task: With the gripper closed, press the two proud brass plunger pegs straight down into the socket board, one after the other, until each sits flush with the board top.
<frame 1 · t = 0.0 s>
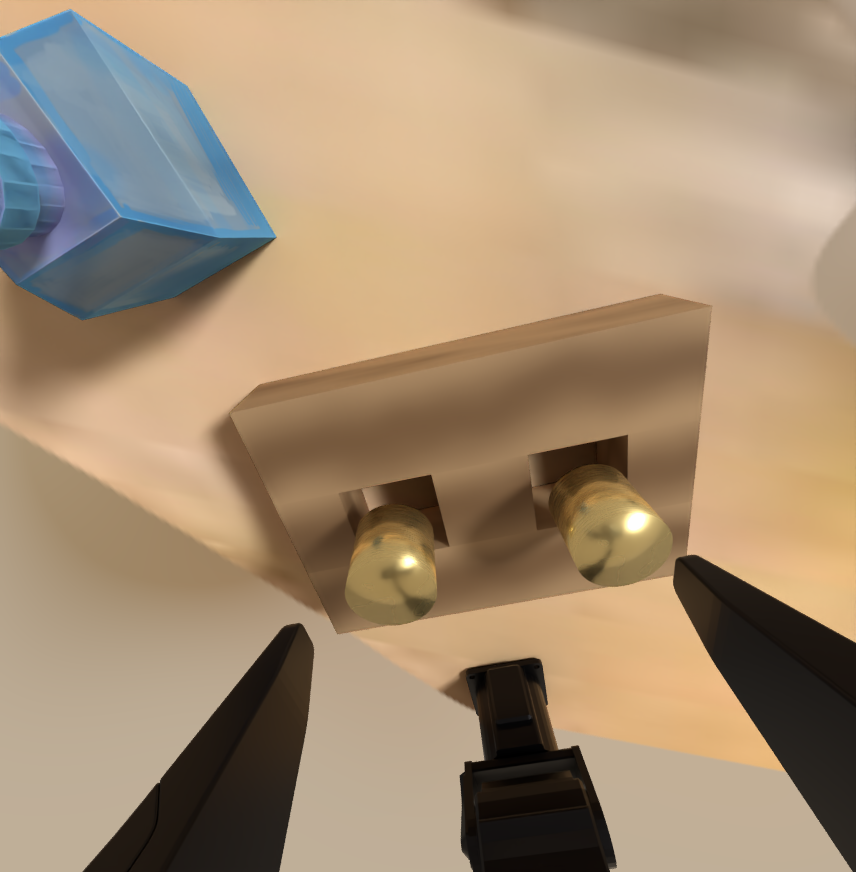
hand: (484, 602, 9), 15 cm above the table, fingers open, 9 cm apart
socket board: (476, 465, 25), on the table
perfume bottle: (182, 202, 18), on the table
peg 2: (393, 562, 19), point 7 cm above the table, slide at 5.0 cm
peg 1: (604, 522, 18), point 7 cm above the table, slide at 5.0 cm
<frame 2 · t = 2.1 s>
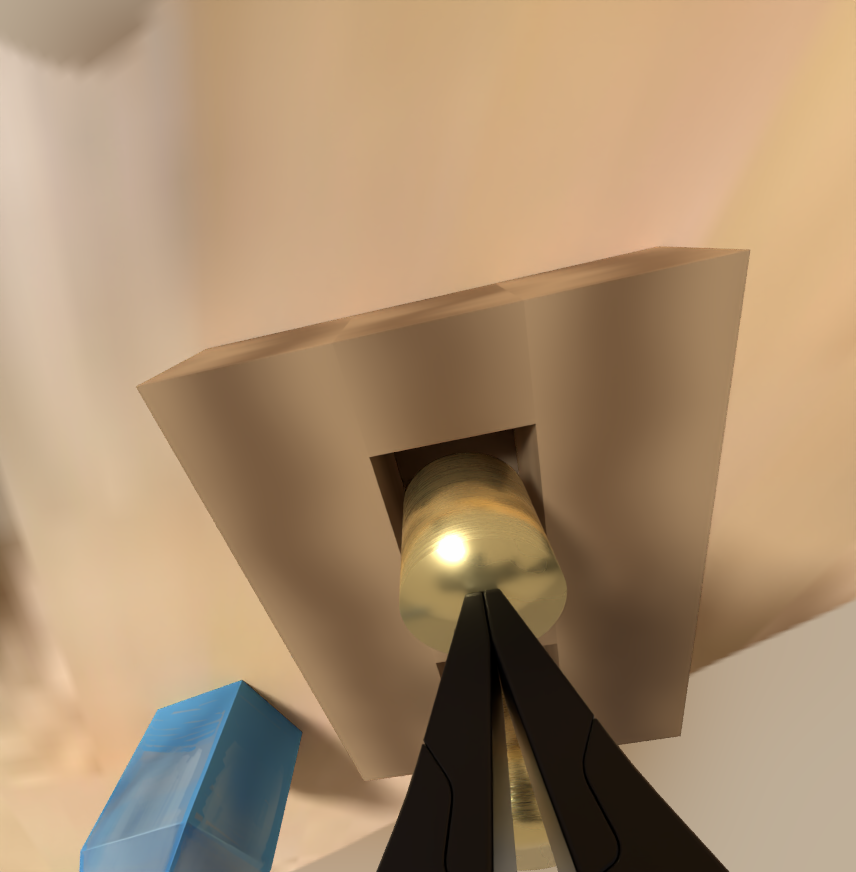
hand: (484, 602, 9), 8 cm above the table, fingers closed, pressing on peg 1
socket board: (473, 539, 19), on the table
perfume bottle: (233, 717, 25), on the table
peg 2: (519, 774, 14), point 7 cm above the table, slide at 5.0 cm
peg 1: (472, 547, 11), point 6 cm above the table, slide at 3.8 cm, touching gripper
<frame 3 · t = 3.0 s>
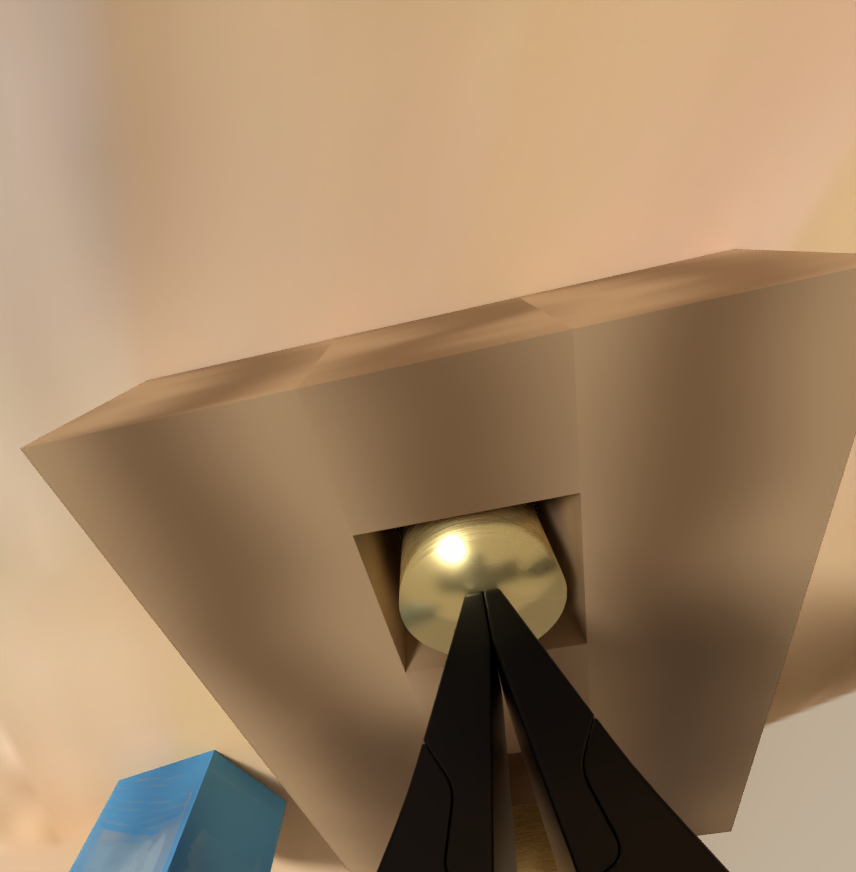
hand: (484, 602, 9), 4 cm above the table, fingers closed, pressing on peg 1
socket board: (484, 600, 15), on the table
perfume bottle: (207, 786, 22), on the table
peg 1: (472, 547, 11), point 2 cm above the table, slide at 0.3 cm, touching gripper
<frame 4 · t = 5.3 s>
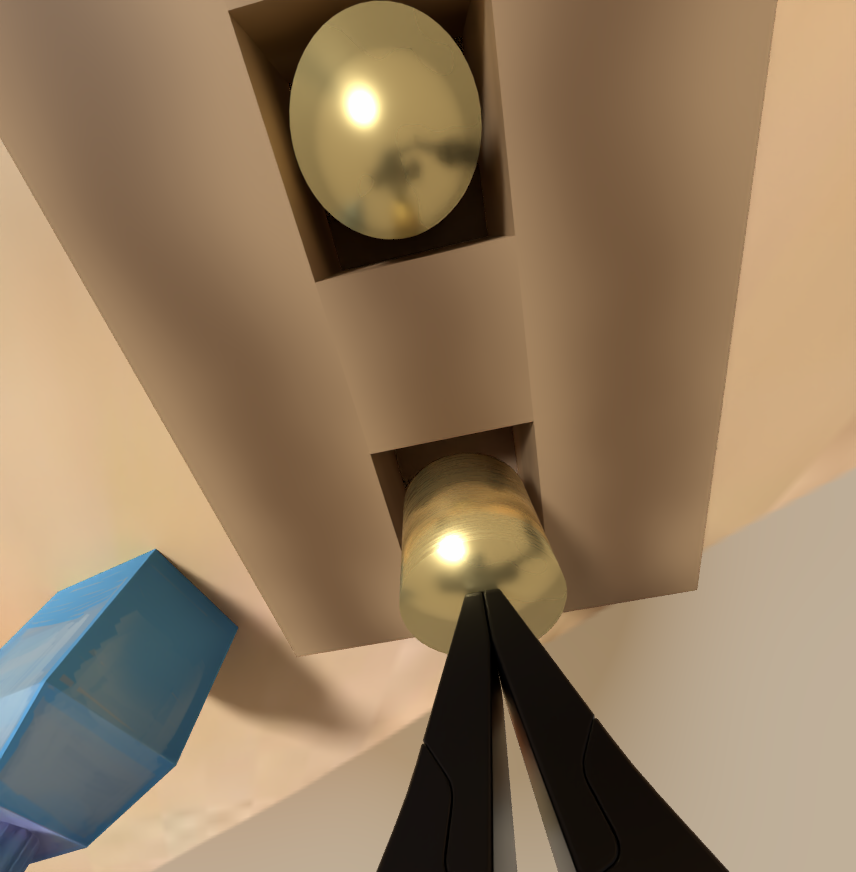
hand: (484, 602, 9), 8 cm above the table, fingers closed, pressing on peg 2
socket board: (429, 327, 14), on the table
perfume bottle: (154, 607, 21), on the table
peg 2: (472, 547, 11), point 6 cm above the table, slide at 4.0 cm, touching gripper
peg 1: (391, 150, 10), point 2 cm above the table, slide at 0.3 cm
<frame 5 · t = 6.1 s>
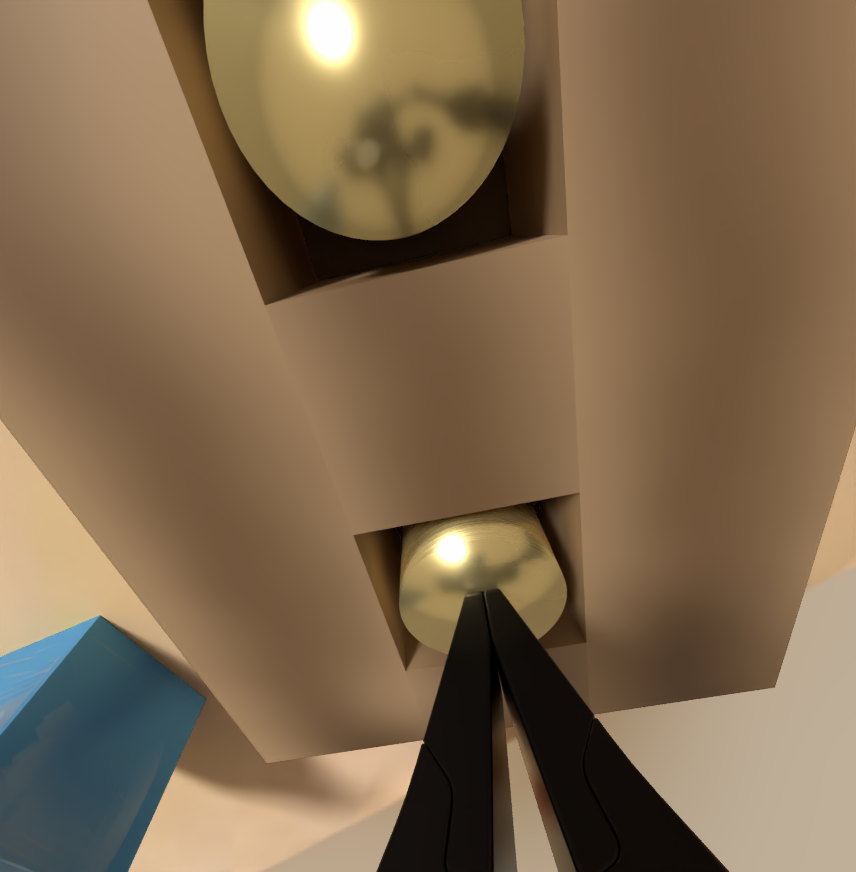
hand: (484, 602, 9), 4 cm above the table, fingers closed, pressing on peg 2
socket board: (433, 354, 11), on the table
perfume bottle: (104, 676, 17), on the table
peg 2: (472, 548, 11), point 2 cm above the table, slide at 0.3 cm, touching gripper
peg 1: (379, 108, 7), point 2 cm above the table, slide at 0.3 cm
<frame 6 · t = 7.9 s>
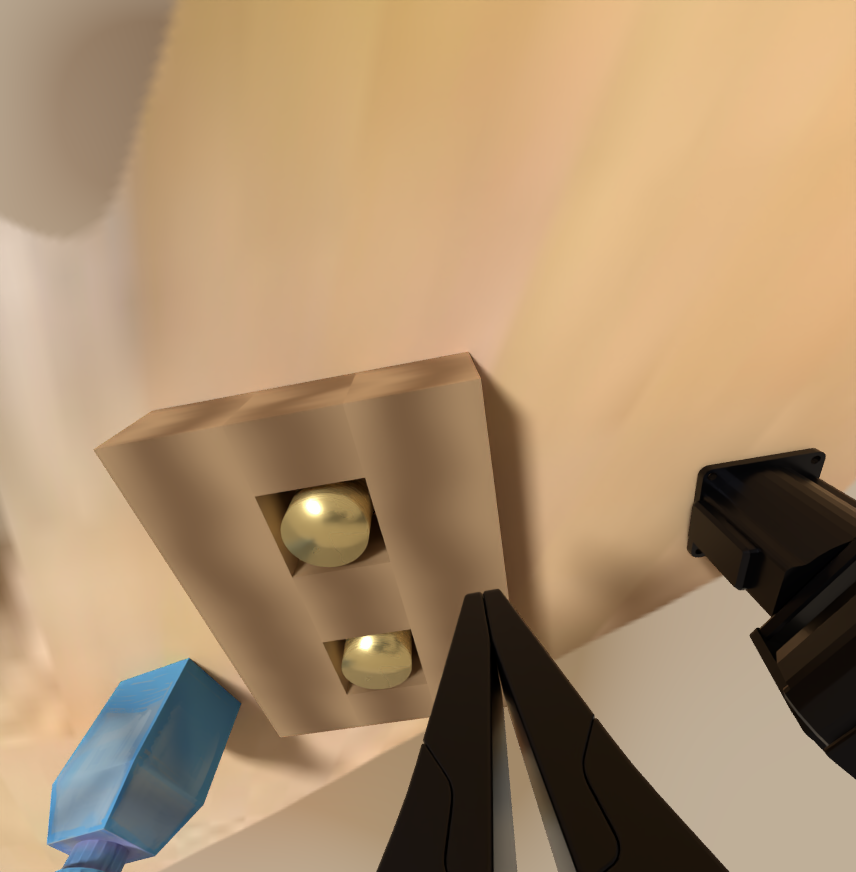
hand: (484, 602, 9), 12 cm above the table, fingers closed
socket board: (363, 550, 24), on the table
perfume bottle: (184, 689, 30), on the table
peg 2: (379, 638, 24), point 2 cm above the table, slide at 0.3 cm
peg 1: (332, 509, 20), point 2 cm above the table, slide at 0.3 cm
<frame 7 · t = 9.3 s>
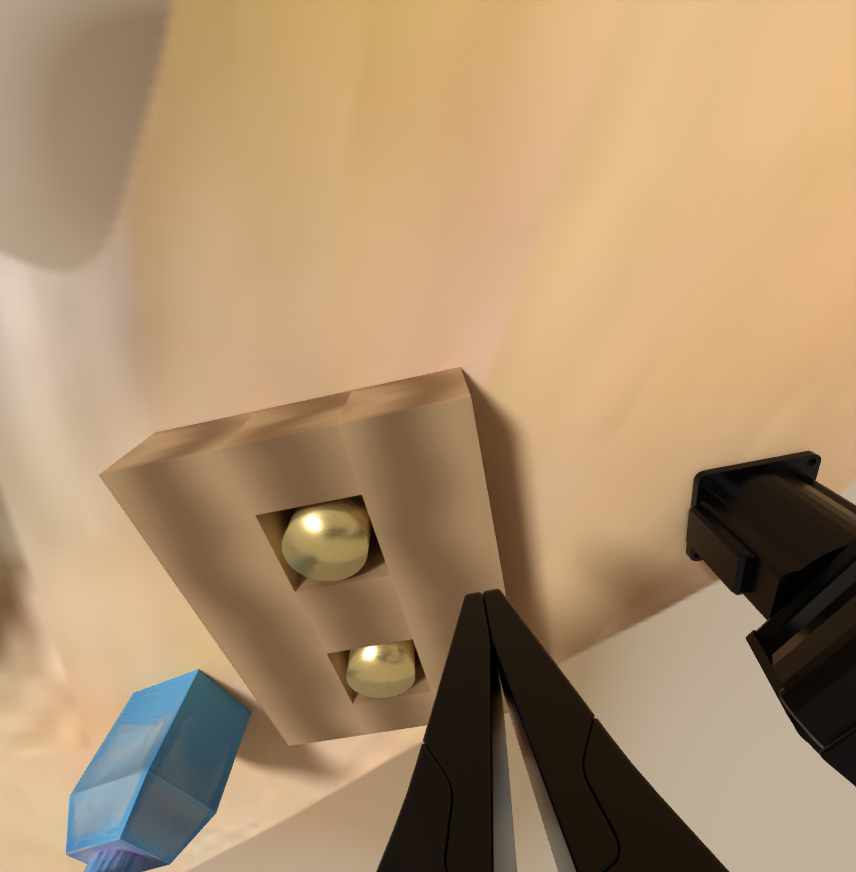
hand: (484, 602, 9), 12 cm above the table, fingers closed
socket board: (365, 561, 25), on the table
perfume bottle: (195, 700, 31), on the table
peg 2: (383, 647, 25), point 2 cm above the table, slide at 0.3 cm
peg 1: (332, 524, 20), point 2 cm above the table, slide at 0.3 cm
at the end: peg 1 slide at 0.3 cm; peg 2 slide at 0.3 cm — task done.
